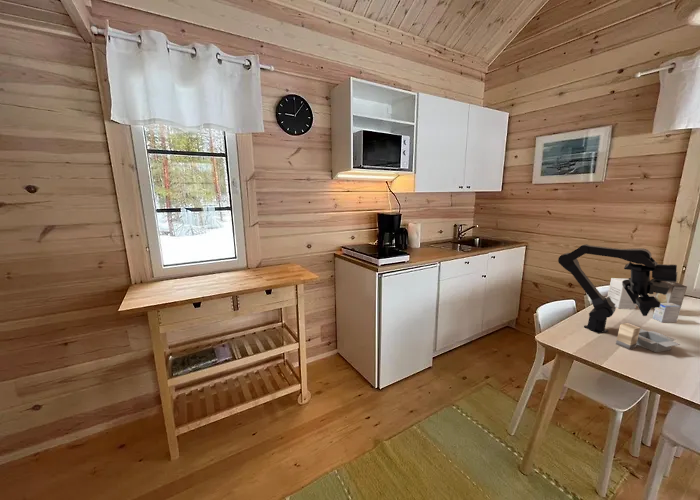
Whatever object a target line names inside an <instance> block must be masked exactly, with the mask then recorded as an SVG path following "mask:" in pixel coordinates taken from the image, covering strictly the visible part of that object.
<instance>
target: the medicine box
mask: <svg viewBox="0 0 700 500" xmlns="http://www.w3.org/2000/svg"><path fill="white" fill-rule="evenodd" d="M681 307H682V305H681V306H679V305H676V304H673V303H660V307H655V308H654V312H653V316H652V319H653V320H655V321H658V322H660V323H677V321H678V317H679V315H680V312H681V309H682V308H681ZM680 308H681V309H680Z"/></svg>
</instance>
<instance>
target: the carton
mask: <svg viewBox="0 0 700 500" xmlns="http://www.w3.org/2000/svg"><path fill="white" fill-rule="evenodd" d="M636 345H638V346H640V347H642V348H645V349H646V350H649V351H652V352H654V353H659V352H666V351H670V350H672V347H675V346H681V344H680V343H677V342H676V339H675V338H672V337H671V336H670V337H669V336H667V335H665V334H662V333H659V332H657V331H655V330H652V331H651V330H650V331H648V330H645V329H642V328H640V332H639V336H638V340H637V344H636Z"/></svg>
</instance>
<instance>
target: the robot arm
mask: <svg viewBox="0 0 700 500" xmlns="http://www.w3.org/2000/svg"><path fill="white" fill-rule="evenodd" d="M585 254H586V255H593V256H594V255H595V256H601V257H609V258H615V259H620V260H624V261H625V262H626V261H627V262H628V263H625V265H624V268H623V269H624V270H628V271H630V277H629V278H628V279H629V280H624V281H623V282H622V285H623V287H624V289H625V290H626V292H627V293H628V295H629V297H630V298H631V300H632V302H633V303H634V304H636V307H637V308H638V310H639V311H640V313H641V314H642V316H643V317H647V316H648V314H649V313H650V312H651V310H652V309H655V308H654V307H660V302H659V301H658V299H657V298H655V295H654V293H655V294H656V293H660V294H663V295H666V294H667V292H668V291H669V289H670V287H669V286H668V285H667V284H665V283H663V282H661V281H668V282H676V283H678V282H677V280H678V272H677V270H678V269H677V268H678V265H677V264H674V263H673V264H659V263H658V262H657V261H656V260H655V259H654V258H653V257H652V253H651V251H649V249H647V248H617V247H607V246H599V245H590V244H582V245H580V246H579V247H578V248H576V249H575V250H572V251H570V252H566V253H563V254H561V255H560V256H559V257H558V259H557V261H558V264H559V265H561V267H563V269H565V270H566V271H567V272H569V273H570V274H571V275H572V277H574V279H575V280H576V282H577V283H578V284H579V286H580V287H581V288H582V289H583V291H584V292H585V294H586V295H587V296H588V297H589V298H590V301H591V303H592V306H593V307H592V310H590V311H589V313H588V316H589V317H588V323H587V324H586V325H583V327H584V328H585V329H587V330H589V331H592V332H594V333H596V334H602V333H608V332H609V330H608V329H606V326H607V325H606V324H607V319H608V318H610V317H612V316H613V315H614V313H615V312H616V309H617V307H615V304H614V303H613V302H612V301H611V299H610V297H607V296H606V297H605V296H604V295H602V294H601V293H600V291H599V290H598V289H597V287H596V286H595V285H594V284H593V282H592V281H591V279H590V278H589V277H588V275H586V273H585V272H584V271H583V270H582V268H581V265H580V263H579V260H578V259H579V258H581V257H582V256H583V255H585ZM650 295H651V296H650ZM652 295H653V296H652Z"/></svg>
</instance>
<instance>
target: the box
mask: <svg viewBox="0 0 700 500" xmlns="http://www.w3.org/2000/svg"><path fill="white" fill-rule="evenodd" d="M640 329H641V327H640V326H637V325H634V324H631V323H627V322H624V323H621V324H620V325H619V329H618V332H617V337H616V341H615V345H616V346H619V347H622V348H624V349H626V350H633V349H636V347H637V345H638V344H637V340H638V336H639V332H640Z"/></svg>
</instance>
